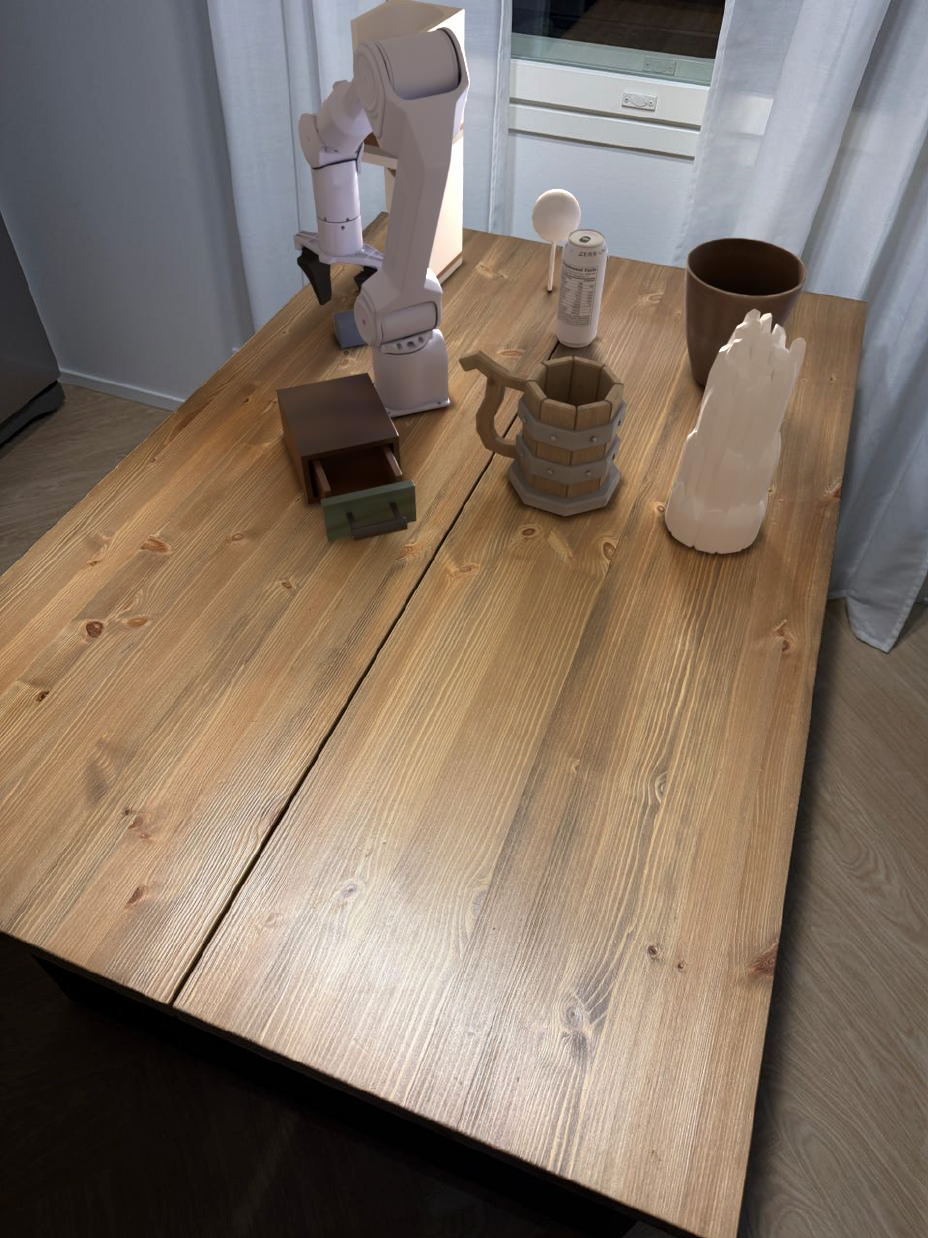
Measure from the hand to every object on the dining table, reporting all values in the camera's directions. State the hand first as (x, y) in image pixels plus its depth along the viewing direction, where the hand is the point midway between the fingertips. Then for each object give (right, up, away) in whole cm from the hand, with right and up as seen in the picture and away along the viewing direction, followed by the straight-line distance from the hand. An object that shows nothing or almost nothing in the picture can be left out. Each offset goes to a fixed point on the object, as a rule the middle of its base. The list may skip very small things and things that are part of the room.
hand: (347, 309), depth 125 cm
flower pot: (+52, -10, -1) cm, 53 cm away
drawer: (+5, -31, -21) cm, 38 cm away
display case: (+9, +12, +17) cm, 22 cm away
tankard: (+25, -26, -15) cm, 39 cm away
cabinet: (+1, -24, -14) cm, 28 cm away
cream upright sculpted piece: (+45, -32, -21) cm, 59 cm away
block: (0, -3, +4) cm, 5 cm away
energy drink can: (+33, -3, +5) cm, 33 cm away
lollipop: (+30, +8, +14) cm, 34 cm away
